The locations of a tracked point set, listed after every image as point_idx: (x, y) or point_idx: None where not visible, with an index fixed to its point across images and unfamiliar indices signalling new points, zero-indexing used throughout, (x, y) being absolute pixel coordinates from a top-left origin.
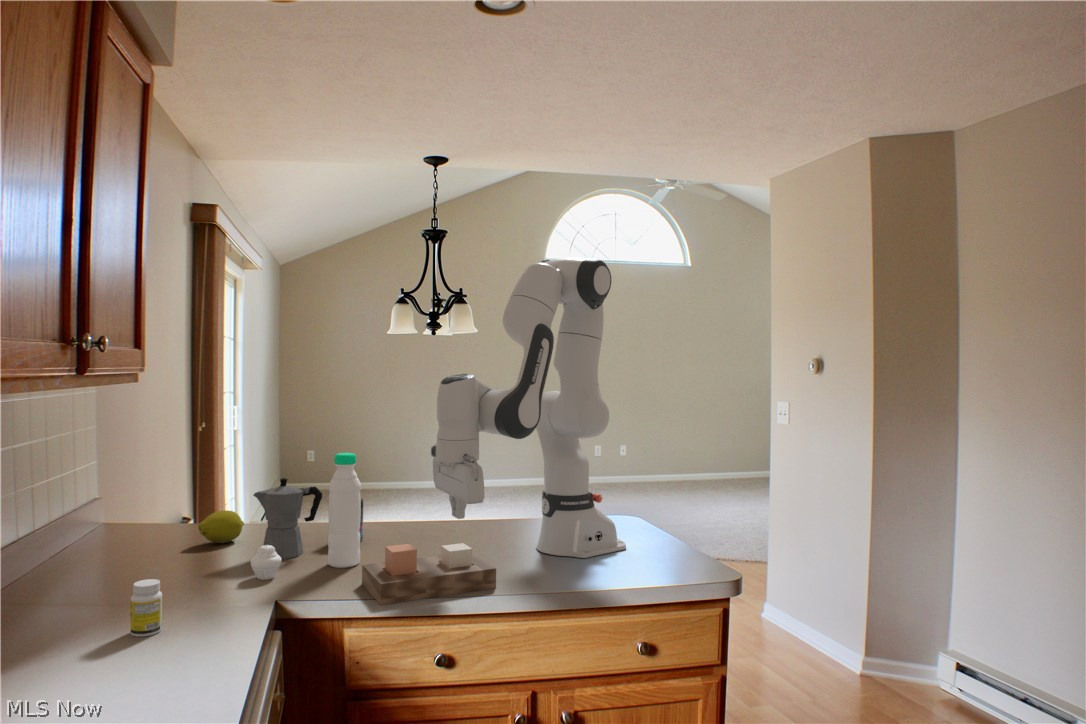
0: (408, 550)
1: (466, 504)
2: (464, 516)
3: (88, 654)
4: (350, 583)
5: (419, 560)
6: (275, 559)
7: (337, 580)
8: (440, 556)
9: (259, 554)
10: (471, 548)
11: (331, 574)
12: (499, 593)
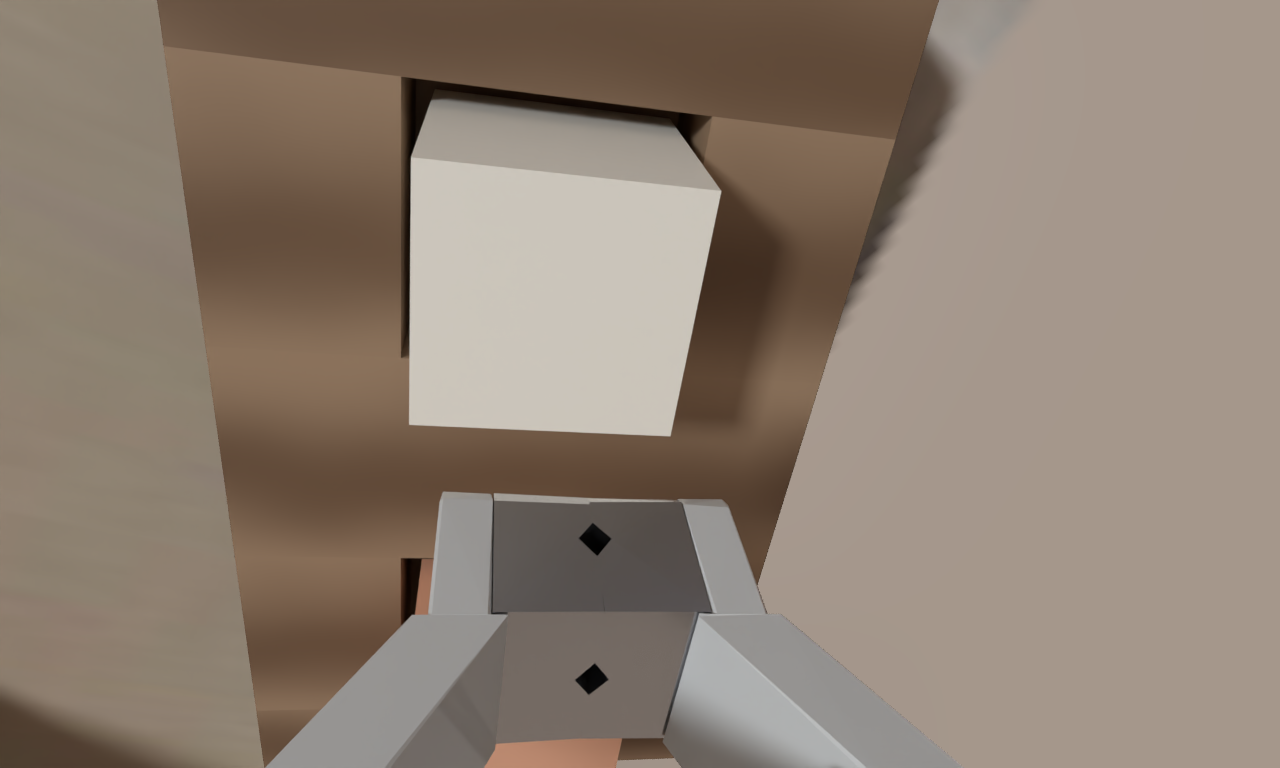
0: (615, 761)
1: (920, 739)
2: (724, 509)
3: None
4: (251, 703)
5: (309, 473)
6: None
7: (163, 740)
8: (242, 274)
9: None
10: (704, 191)
11: (16, 749)
12: (983, 23)
